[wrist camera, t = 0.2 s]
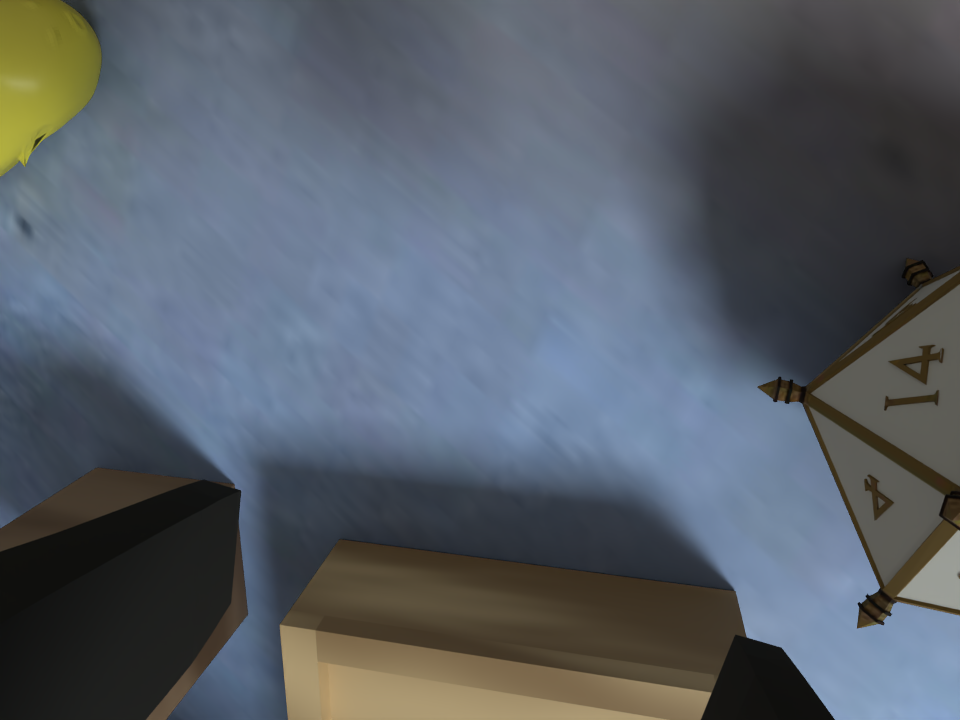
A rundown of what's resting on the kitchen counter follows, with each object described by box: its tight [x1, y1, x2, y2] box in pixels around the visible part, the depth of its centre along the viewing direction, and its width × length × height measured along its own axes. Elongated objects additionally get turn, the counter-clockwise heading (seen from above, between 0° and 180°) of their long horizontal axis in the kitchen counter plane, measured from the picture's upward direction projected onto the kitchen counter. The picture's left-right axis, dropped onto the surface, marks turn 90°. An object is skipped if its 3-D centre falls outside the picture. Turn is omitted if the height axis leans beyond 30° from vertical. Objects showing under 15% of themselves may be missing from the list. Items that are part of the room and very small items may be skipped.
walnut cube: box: [0, 468, 248, 720], centre depth 21 cm, size 5×5×6 cm
